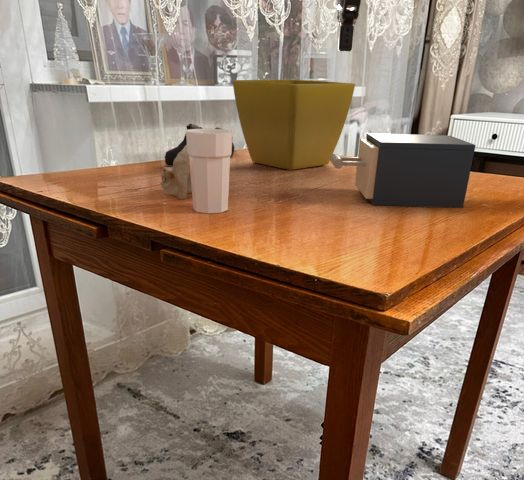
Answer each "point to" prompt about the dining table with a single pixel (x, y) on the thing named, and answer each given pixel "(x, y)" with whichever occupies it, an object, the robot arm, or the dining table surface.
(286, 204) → the dining table surface
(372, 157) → the drawer
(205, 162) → the cup
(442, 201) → the cabinet
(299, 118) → the flower pot
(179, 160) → the beige rough lump
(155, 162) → the dining table surface
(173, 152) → the game controller
